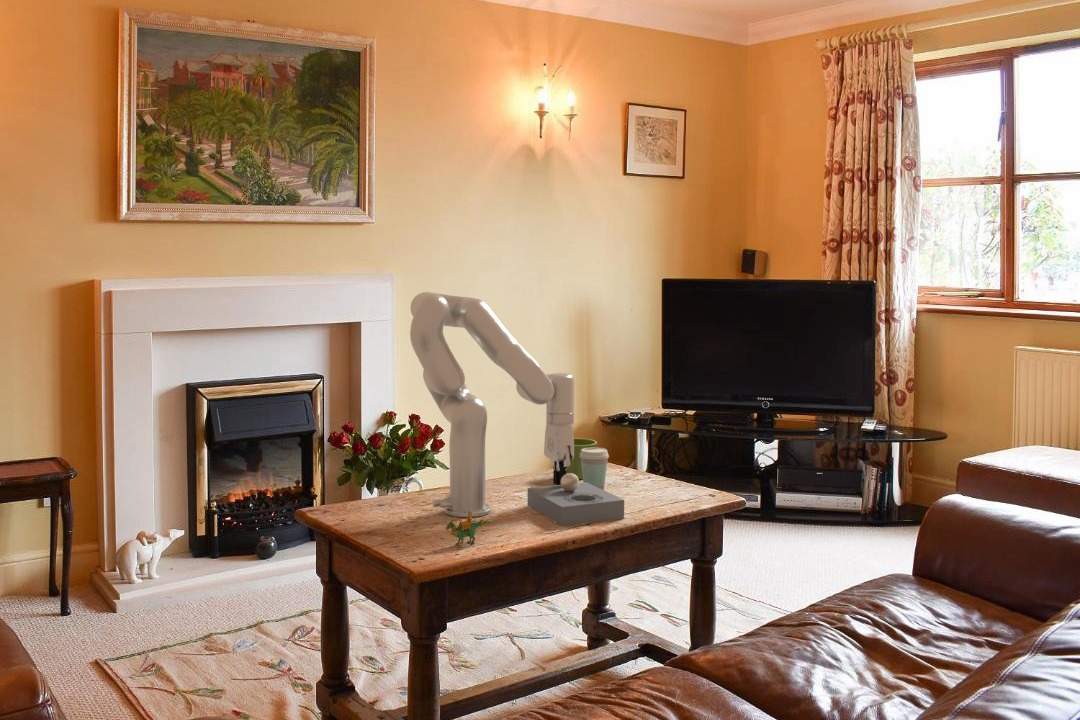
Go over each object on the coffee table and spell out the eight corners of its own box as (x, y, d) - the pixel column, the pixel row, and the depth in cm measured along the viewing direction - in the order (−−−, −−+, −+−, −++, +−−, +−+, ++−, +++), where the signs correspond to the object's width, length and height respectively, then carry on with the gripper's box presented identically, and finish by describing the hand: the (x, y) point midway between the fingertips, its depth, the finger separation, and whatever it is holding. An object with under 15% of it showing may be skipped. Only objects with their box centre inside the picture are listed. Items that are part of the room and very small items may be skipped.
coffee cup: (609, 487, 299) (609, 447, 297) (608, 494, 290) (608, 453, 289) (580, 486, 299) (580, 446, 298) (578, 493, 291) (578, 452, 290)
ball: (565, 494, 269) (565, 476, 268) (557, 490, 274) (557, 472, 273) (582, 492, 271) (582, 474, 270) (574, 488, 276) (574, 470, 275)
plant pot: (585, 483, 303) (585, 446, 302) (551, 478, 309) (551, 442, 308) (603, 475, 314) (603, 440, 312) (569, 471, 319) (569, 436, 318)
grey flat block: (561, 526, 256) (561, 506, 256) (527, 506, 276) (527, 488, 276) (624, 518, 264) (624, 499, 263) (586, 499, 284) (586, 482, 283)
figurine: (443, 545, 240) (443, 512, 239) (489, 539, 245) (489, 506, 244) (448, 549, 237) (448, 515, 236) (494, 542, 242) (494, 509, 242)
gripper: (536, 415, 281) (536, 479, 283) (559, 423, 268) (559, 491, 270) (560, 413, 284) (560, 477, 286) (584, 421, 271) (584, 488, 273)
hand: (559, 484), depth 278 cm, fingers closed
